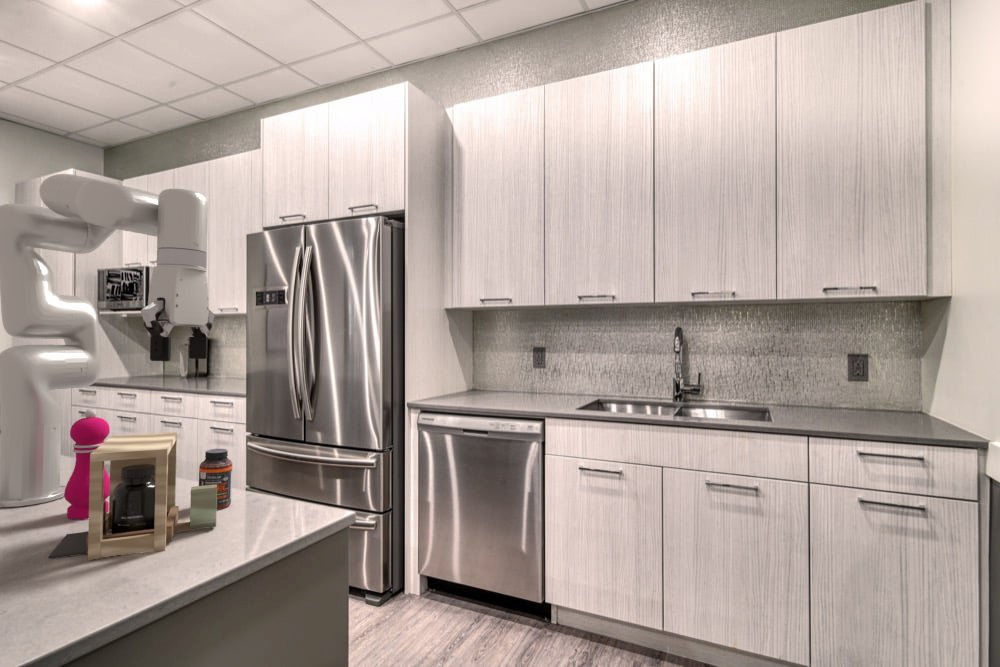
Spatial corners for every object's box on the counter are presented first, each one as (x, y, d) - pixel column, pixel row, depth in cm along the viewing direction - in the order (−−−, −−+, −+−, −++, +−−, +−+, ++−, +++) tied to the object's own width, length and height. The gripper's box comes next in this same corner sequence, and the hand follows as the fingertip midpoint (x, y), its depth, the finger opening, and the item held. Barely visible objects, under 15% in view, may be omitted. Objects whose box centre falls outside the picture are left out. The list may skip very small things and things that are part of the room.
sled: (102, 528, 93) (103, 487, 94) (217, 515, 101) (217, 478, 101) (85, 552, 83) (87, 507, 83) (214, 535, 91) (215, 494, 91)
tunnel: (110, 526, 96) (112, 435, 96) (175, 518, 100) (177, 432, 100) (87, 560, 81) (90, 454, 82) (164, 550, 86) (167, 449, 86)
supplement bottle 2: (201, 513, 104) (203, 454, 104) (194, 505, 108) (195, 449, 108) (235, 507, 107) (236, 451, 108) (226, 500, 112) (228, 446, 112)
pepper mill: (85, 522, 97) (88, 412, 98) (53, 518, 99) (56, 410, 99) (121, 510, 105) (123, 407, 105) (90, 506, 106) (92, 405, 106)
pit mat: (66, 536, 91) (66, 534, 91) (100, 532, 93) (100, 530, 93) (48, 558, 82) (48, 556, 82) (85, 554, 84) (85, 551, 84)
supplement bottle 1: (122, 548, 86) (124, 474, 86) (103, 539, 90) (105, 467, 90) (167, 535, 92) (169, 465, 92) (147, 527, 96) (149, 460, 96)
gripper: (194, 268, 103) (192, 357, 103) (123, 254, 86) (121, 361, 85) (231, 268, 102) (229, 358, 102) (167, 254, 85) (165, 362, 85)
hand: (180, 359), depth 94 cm, fingers open, 9 cm apart
